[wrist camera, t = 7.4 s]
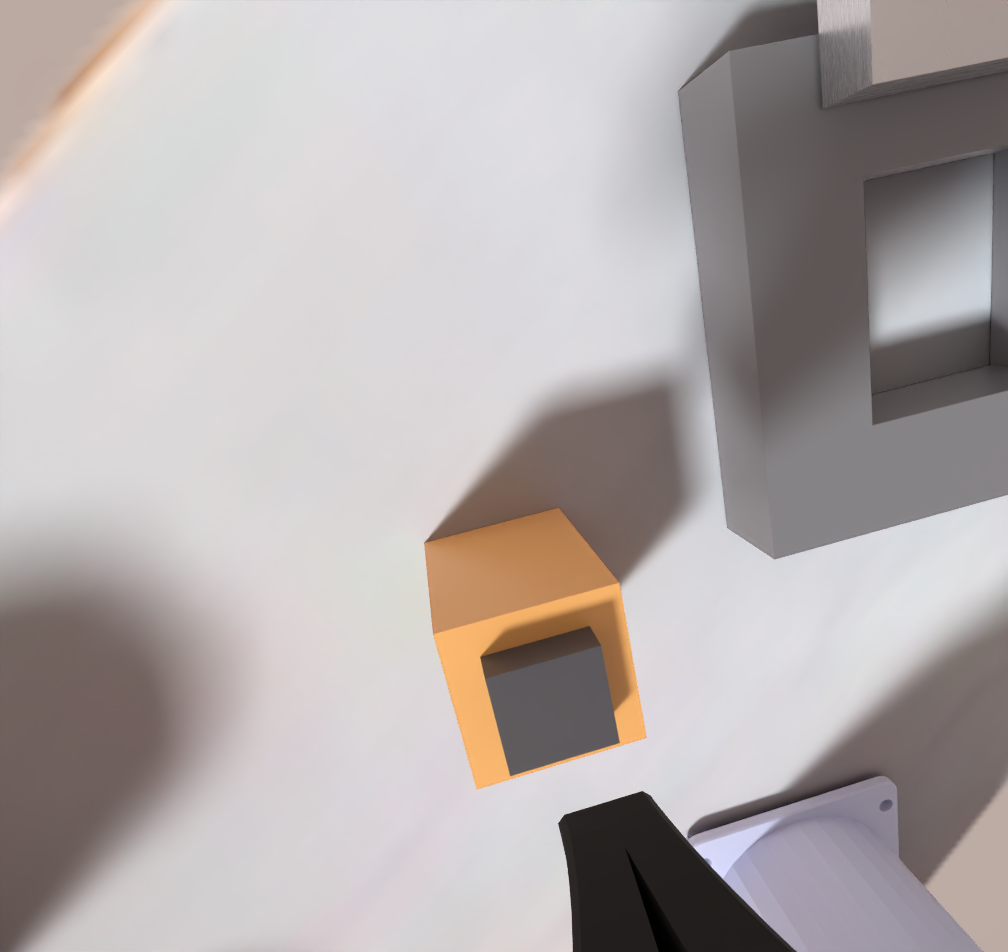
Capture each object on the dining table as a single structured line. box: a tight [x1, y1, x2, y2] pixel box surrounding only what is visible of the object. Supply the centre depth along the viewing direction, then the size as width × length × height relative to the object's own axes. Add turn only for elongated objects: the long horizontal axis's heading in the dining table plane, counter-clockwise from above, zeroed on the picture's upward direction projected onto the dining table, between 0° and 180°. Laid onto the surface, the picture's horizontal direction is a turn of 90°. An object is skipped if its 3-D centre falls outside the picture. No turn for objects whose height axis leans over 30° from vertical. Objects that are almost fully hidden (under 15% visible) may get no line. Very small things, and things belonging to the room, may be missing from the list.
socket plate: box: [678, 34, 1008, 559], centre depth 16 cm, size 12×12×2 cm
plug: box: [424, 508, 647, 789], centre depth 15 cm, size 4×4×6 cm
